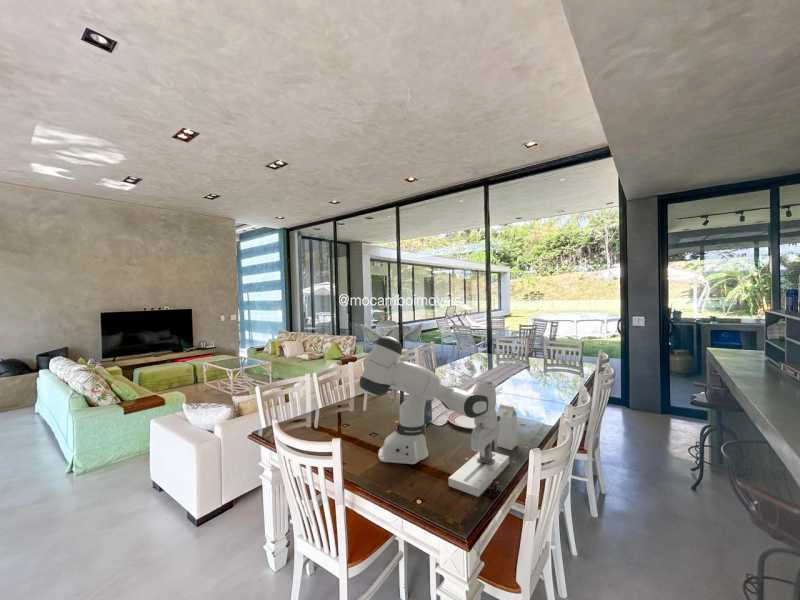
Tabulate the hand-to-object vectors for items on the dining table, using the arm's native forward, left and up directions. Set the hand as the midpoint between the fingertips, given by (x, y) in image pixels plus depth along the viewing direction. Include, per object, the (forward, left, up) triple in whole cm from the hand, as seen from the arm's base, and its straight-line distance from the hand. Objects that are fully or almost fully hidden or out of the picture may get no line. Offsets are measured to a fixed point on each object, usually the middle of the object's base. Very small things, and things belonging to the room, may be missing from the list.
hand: (485, 453), depth 139 cm
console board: (-3, -4, -6) cm, 8 cm away
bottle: (-22, +56, -6) cm, 60 cm away
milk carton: (+15, +21, -6) cm, 27 cm away
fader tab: (0, 0, -3) cm, 3 cm away
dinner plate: (+5, +51, -7) cm, 52 cm away
